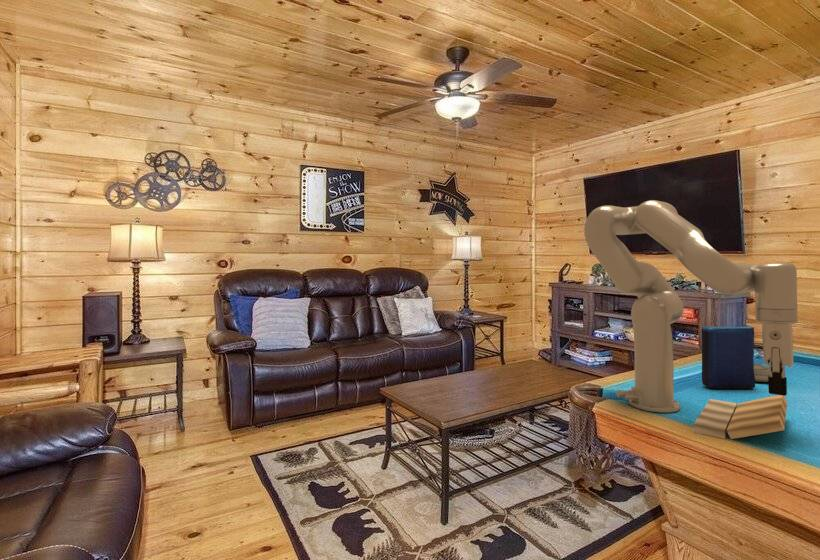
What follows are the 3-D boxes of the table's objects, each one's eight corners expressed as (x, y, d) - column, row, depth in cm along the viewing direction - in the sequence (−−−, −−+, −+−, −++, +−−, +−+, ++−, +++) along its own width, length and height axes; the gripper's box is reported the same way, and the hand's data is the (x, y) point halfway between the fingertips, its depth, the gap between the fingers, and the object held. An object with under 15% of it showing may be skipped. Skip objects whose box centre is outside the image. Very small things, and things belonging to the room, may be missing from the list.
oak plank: (784, 430, 91) (778, 420, 92) (731, 439, 97) (726, 430, 98) (787, 401, 109) (783, 394, 109) (742, 410, 115) (738, 403, 116)
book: (747, 385, 138) (747, 323, 137) (759, 390, 132) (759, 326, 132) (699, 385, 139) (699, 324, 138) (709, 390, 134) (709, 326, 133)
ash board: (724, 438, 98) (724, 429, 98) (693, 432, 102) (693, 423, 102) (736, 410, 116) (736, 403, 116) (710, 406, 120) (709, 398, 120)
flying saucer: (728, 371, 157) (728, 356, 156) (782, 377, 147) (782, 361, 147) (725, 380, 145) (725, 364, 145) (784, 387, 135) (784, 370, 135)
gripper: (797, 320, 92) (799, 405, 93) (797, 313, 103) (799, 389, 104) (752, 318, 97) (754, 399, 98) (757, 312, 108) (759, 384, 109)
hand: (777, 393), depth 101 cm, fingers closed
